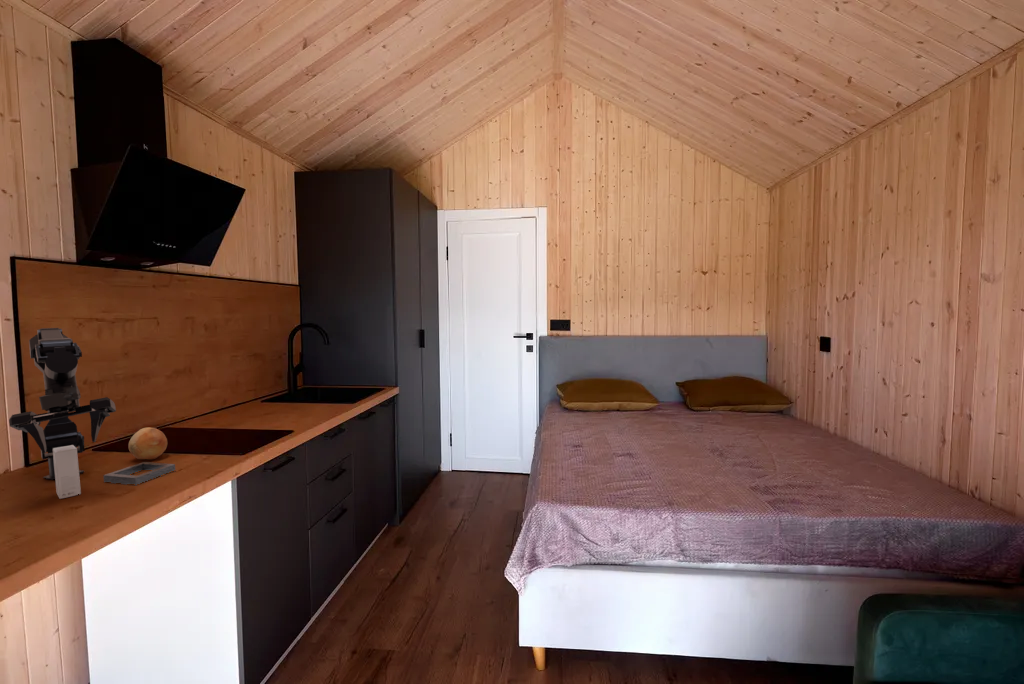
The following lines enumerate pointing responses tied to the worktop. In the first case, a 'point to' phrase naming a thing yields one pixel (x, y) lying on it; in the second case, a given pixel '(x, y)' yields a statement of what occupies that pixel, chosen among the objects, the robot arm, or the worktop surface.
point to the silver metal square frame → (126, 478)
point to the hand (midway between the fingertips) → (69, 447)
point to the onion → (147, 443)
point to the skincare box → (66, 471)
